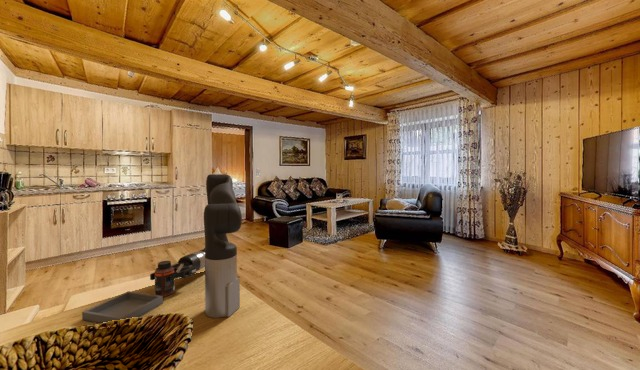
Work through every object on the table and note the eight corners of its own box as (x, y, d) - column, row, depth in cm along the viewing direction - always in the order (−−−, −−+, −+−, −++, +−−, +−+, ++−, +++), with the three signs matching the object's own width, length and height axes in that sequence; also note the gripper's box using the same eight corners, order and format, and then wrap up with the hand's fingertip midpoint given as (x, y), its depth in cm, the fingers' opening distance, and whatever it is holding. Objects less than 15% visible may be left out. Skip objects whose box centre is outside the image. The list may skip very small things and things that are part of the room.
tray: (162, 303, 85) (162, 296, 85) (121, 327, 72) (120, 318, 72) (128, 298, 89) (128, 291, 89) (82, 320, 75) (82, 312, 75)
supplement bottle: (178, 290, 95) (177, 259, 95) (167, 298, 89) (166, 265, 89) (162, 289, 96) (162, 259, 95) (150, 297, 90) (150, 264, 89)
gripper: (178, 252, 108) (141, 265, 91) (208, 254, 104) (176, 269, 88) (178, 270, 108) (141, 286, 92) (208, 273, 105) (176, 291, 88)
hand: (158, 278), depth 90 cm, fingers closed on supplement bottle, 6 cm apart
